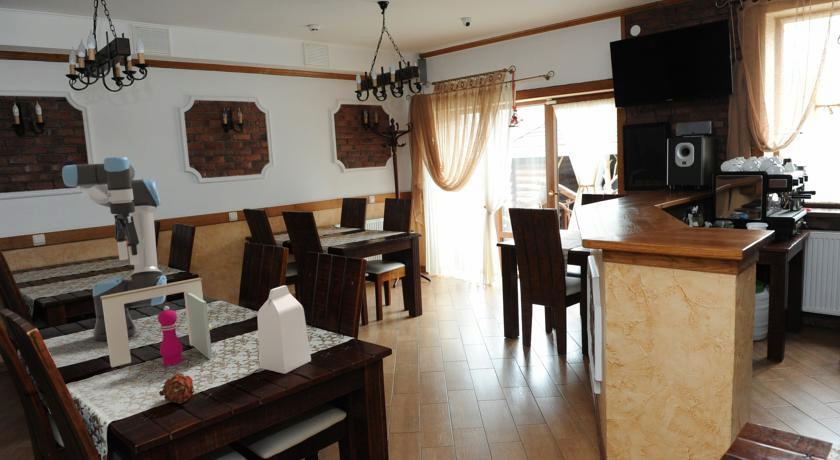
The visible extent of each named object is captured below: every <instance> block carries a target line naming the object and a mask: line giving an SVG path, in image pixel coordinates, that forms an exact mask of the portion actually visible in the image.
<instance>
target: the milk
mask: <svg viewBox="0 0 840 460" xmlns="http://www.w3.org/2000/svg"><path fill="white" fill-rule="evenodd" d="M307 329H308V328H307V322H306V316H305V310H304V307H303V305H302V304H301V303H300V302H299V301H298V300H297V299H296V298H295V297H294V296H293V294H292V293H290V290H289V287H288V285H281V286H277V287H275V288H272V289H270V291H269V295H268V298H267V300H266V301H265V302H264V303H263V305H262V306H261V307H260V308H259V310H258V311H257V336H258V337H257V338H258V356H259V359H258V360H259V369H263V370H268V371H273V372H276V373H280V374H288V373H289V372H292V371H293V370H296V369H297V368H299V367H302V366H303V365H306V364H307V363H309V362H312V357H311V350H310V343H309V338H308V337H309V335H308V331H307Z"/></svg>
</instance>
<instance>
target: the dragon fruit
mask: <svg viewBox="0 0 840 460" xmlns="http://www.w3.org/2000/svg"><path fill="white" fill-rule="evenodd" d="M161 389H162V390H159V392H158V394H159V396H163V399H165V401H167V402H169V403H175V404H183V403H185V402H186V401H188V400H189V399H190V398H192V397H193V394H194V393H195V388H194V384H193V378H191V377H190V375H184V373H175V374H174V375H173V376H172V377H169V378H167V379H166V381H164V383H163V385H162V386H161Z"/></svg>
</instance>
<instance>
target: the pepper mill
mask: <svg viewBox="0 0 840 460" xmlns="http://www.w3.org/2000/svg"><path fill="white" fill-rule="evenodd" d="M177 320H178V314H177V313H176V311H174V310H173V309H170V307H169V305H165V306H164V307H163V311H161V312H160V313H159V314H158V316H157V321H158V323H159V324H160V330H161V331H162V341H161V344H160V346H159V347H160V348H159V354H160V356H161V357H163V358H162V359H161V361H162V365H163V366H168V367H169V366H176V365H178V364H180V363H182V362H183V355H182V352H183V351H184V346H183V344H182V342H181V341H180V339H179V337H178V335H177V332H176V328H177V327H178V326H177V323H176V321H177Z"/></svg>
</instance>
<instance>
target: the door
mask: <svg viewBox="0 0 840 460" xmlns="http://www.w3.org/2000/svg"><path fill="white" fill-rule="evenodd" d="M186 295H187V304H188V313H189V321H190V330H191V339H192V345H193V346H192V347H194V348H195V349H197V351H198V352H200V353H201V354H202V355H204V356H205V357H206V358H207V359H209V360H210V359H212V358H213V352H212V342H211V333H210V332H211V331H212V329H213V327H212V325H211V324H209V322H210V321H209V316H208V315H209V313H208V305H207V301H205V300H204V299H203V300H202V299H201V298H199V297H197V296H195V295H194V294H192V293H190V292H188V293H186Z"/></svg>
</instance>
